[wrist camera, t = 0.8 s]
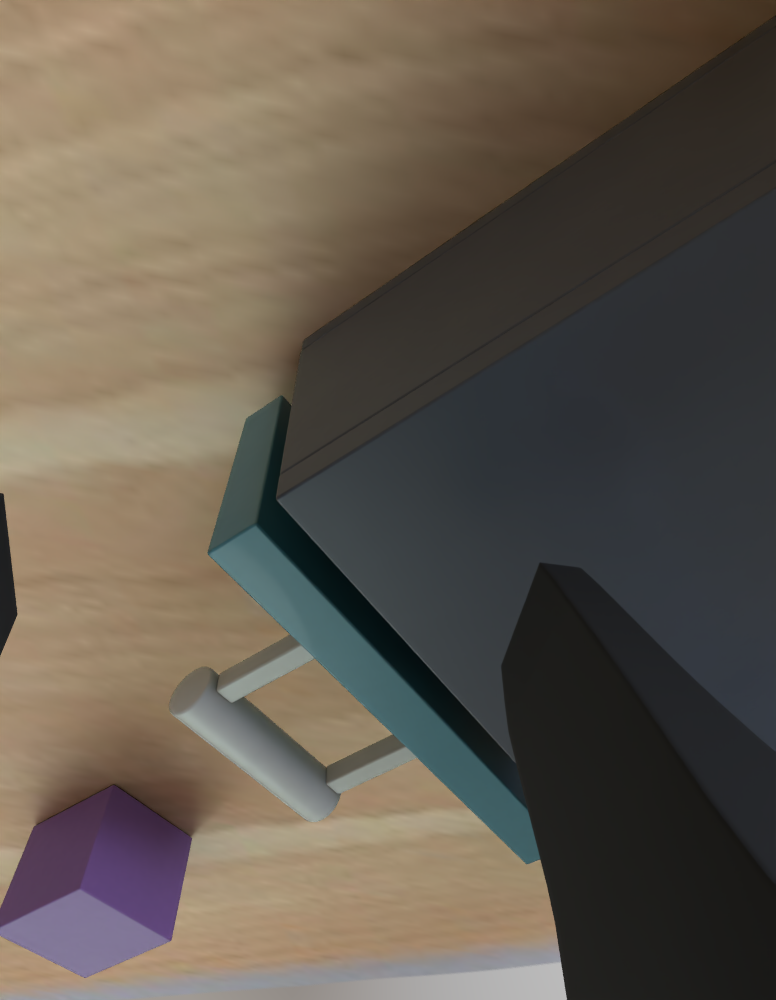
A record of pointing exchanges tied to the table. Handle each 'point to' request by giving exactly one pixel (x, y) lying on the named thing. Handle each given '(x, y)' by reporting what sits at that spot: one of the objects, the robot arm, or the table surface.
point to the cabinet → (572, 404)
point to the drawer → (331, 665)
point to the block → (97, 884)
